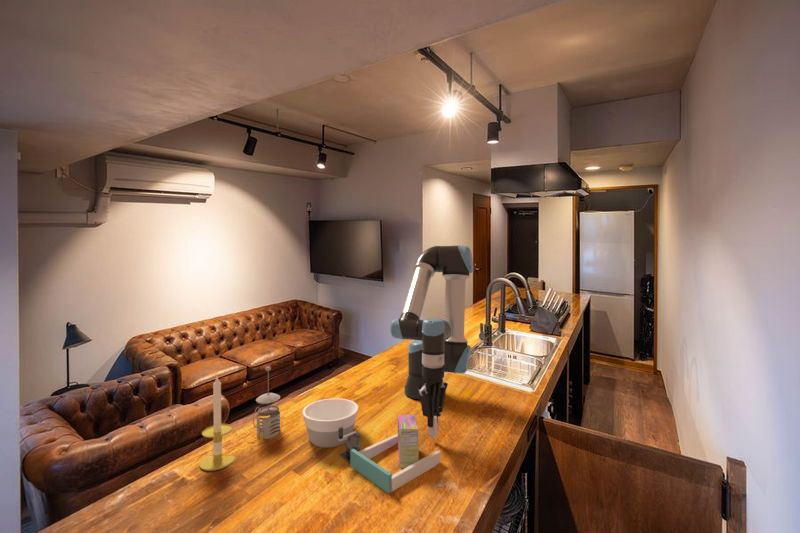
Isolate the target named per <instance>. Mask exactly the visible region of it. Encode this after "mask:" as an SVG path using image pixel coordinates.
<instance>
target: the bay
mask: <svg viewBox="0 0 800 533" xmlns="http://www.w3.org/2000/svg"><path fill="white" fill-rule="evenodd" d="M395 445H398V433H397V434H394V435H391V436H389V437H387V438H385V439H383V440H381V441H378V442H376V443H374V444H372V445H370V446H367V447H365V448H363V449H360V451H356V450H355V449H352V450H350V463H349V465H350V467H351V468H352V469H353V470H355V471H356V472H357V473H359V474H360V475H362V476H363V477H364V478H366V479H367V480H368V481H370V482H371V483H372V484H374V485H375V486H376V487H378V488H380V489H381V490H382V491H384V492H385V493H387V495H389V494H391V493H392V492H394V491H396V490H398V489H399V488H401V487H403V486H404V485H407V484H408V483H409V482H411V481H412V480H415V479H416V478H418V477H419V476H421V475H423V474H424V473H426V472H428V471H429V470H432V469H433V468H434V467H436V466H437V465H439V464H440V463H441V451H440V450H435V451H434V452H432V453H430V454H428V455H426V456H425V457H422V458H421V459H419V461H417V462H415V463H413V464H412V465H410V466H408V467H406V468H402V469H401V470H399V471H397V472H395V473H394V474H393V473H391V472H390V471H389V470H387V469H385V468H384V467H383V466H381V465H379V464H377V463H376V462H375V461H373V460H371V459H372V458H374V457H376V456H378V455H379V454H381V453H383V452H385V451H386V450H388V449H390V448H392V447H393V446H395Z"/></svg>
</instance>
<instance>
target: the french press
mask: <svg viewBox="0 0 800 533" xmlns="http://www.w3.org/2000/svg"><path fill="white" fill-rule="evenodd" d="M264 370H265V371H267V392H266V393H263V394H261V395H259V396H258V397H256V399H255V401H256V403H257V404H260V405H265V406H261V407H260V406H257V407H256V408H255V410H254V413H253V416H252V424H253V426H254V428H255V429H256V436H257V438H258V439H263V440H264V439H265V440H266V439H271V438H274V437H277V436H278V435H279V434H280V431H279V430H281V412H280V407H279V406H276V405H270V404H273V403H275V402H277V401H279V400H280V399H281V396H280V394H277V393H274V392H269V391H270V390H269V388H270V387H269V386H270V385H269V383H270V382H269V381H270V380H269V378H270V376H269V374H270V373H269V371H271V370H272V367H271V366H270V365H269V366H266V367H265V369H264ZM266 404H267V405H266ZM257 409H258V410H257ZM256 411H257V414H256ZM255 414H256V425H255V418H254V417H255ZM273 432H274V433H273Z"/></svg>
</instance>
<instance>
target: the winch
mask: <svg viewBox="0 0 800 533" xmlns="http://www.w3.org/2000/svg"><path fill="white" fill-rule="evenodd" d="M344 440H346V442H345V451H344V452H342V453H340V454H339V456H340V457H341V458H343V459H344V460H345V461H346V462H347V463H348V464H350V450H352V449H355V450H356V451H360V450H361V434H360V433H359V432H357V431H356V430H353V432H351V433H348V434H347V435H344V436H343V427H339V428H338V441H339V442H341V441H344Z"/></svg>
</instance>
